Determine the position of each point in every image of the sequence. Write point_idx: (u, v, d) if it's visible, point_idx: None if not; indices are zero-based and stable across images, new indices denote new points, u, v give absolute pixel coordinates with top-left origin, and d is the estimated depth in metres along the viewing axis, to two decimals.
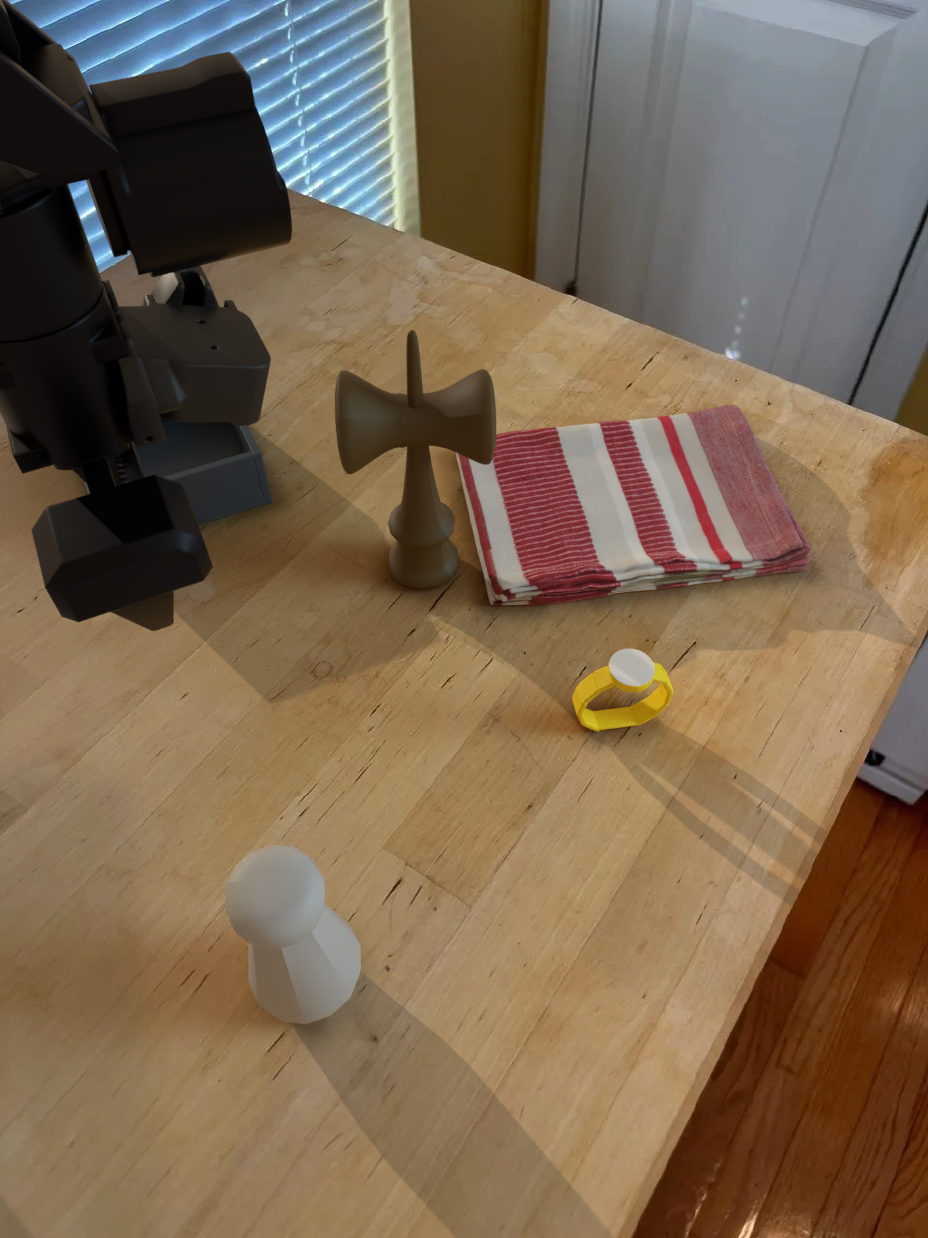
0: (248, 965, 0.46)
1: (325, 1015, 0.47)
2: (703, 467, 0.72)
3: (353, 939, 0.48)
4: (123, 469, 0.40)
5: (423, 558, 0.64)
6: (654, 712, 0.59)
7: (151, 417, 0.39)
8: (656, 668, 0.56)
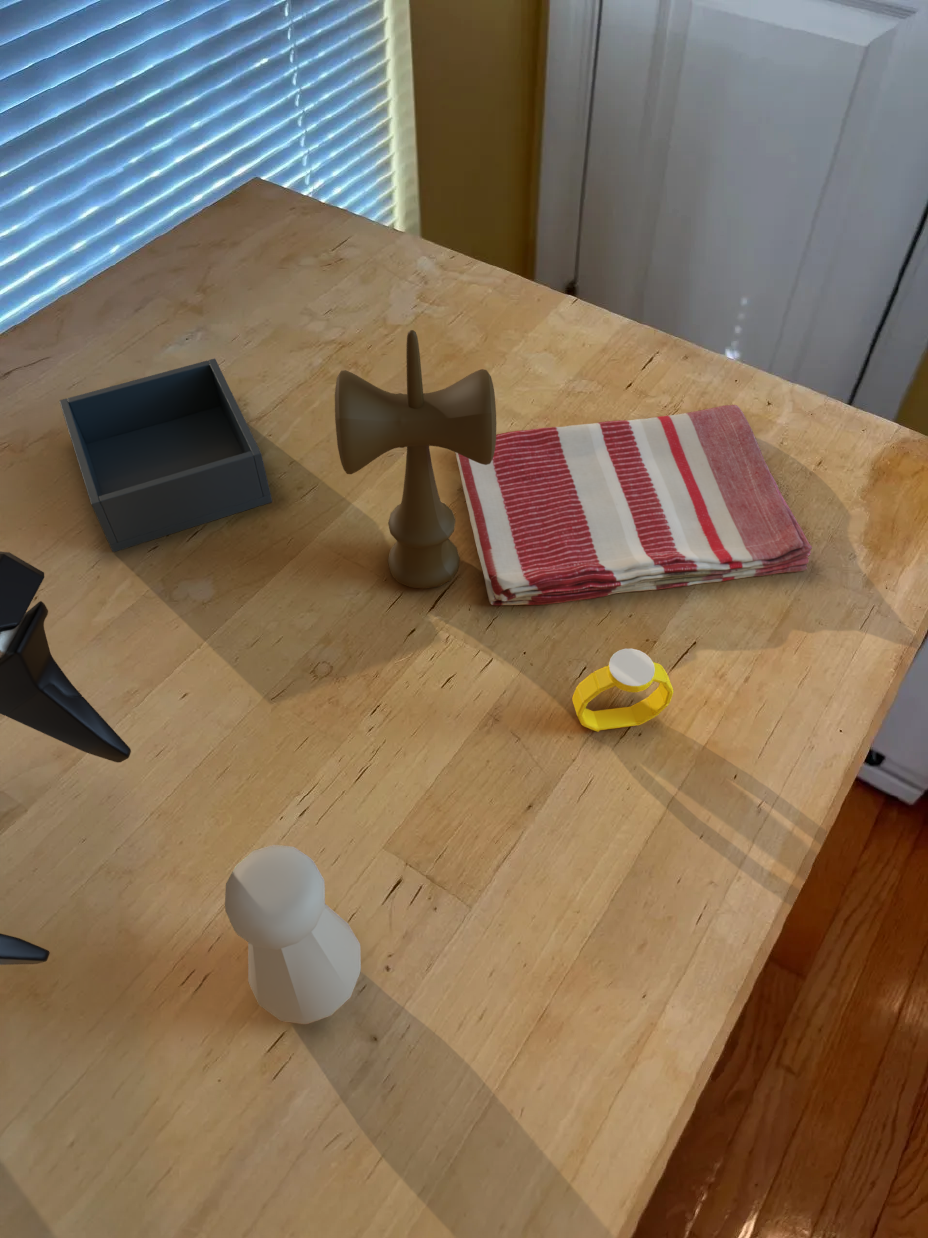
0: (248, 965, 0.46)
1: (325, 1015, 0.47)
2: (703, 467, 0.72)
3: (353, 939, 0.48)
4: None
5: (423, 558, 0.64)
6: (654, 712, 0.59)
7: None
8: (656, 668, 0.56)
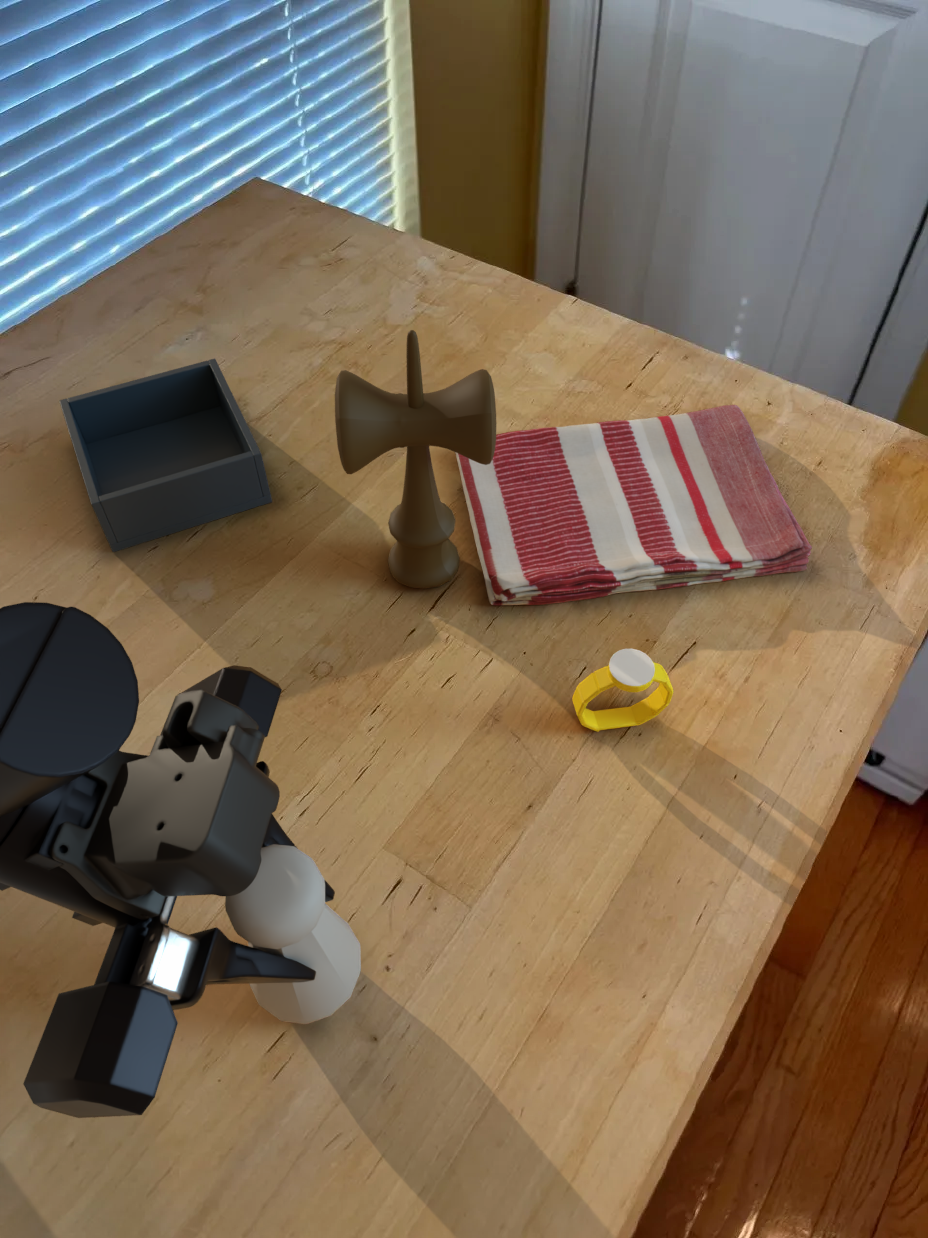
0: None
1: (325, 1015, 0.47)
2: (703, 467, 0.72)
3: (353, 939, 0.48)
4: None
5: (423, 558, 0.64)
6: (654, 712, 0.59)
7: (124, 904, 0.35)
8: (656, 668, 0.56)
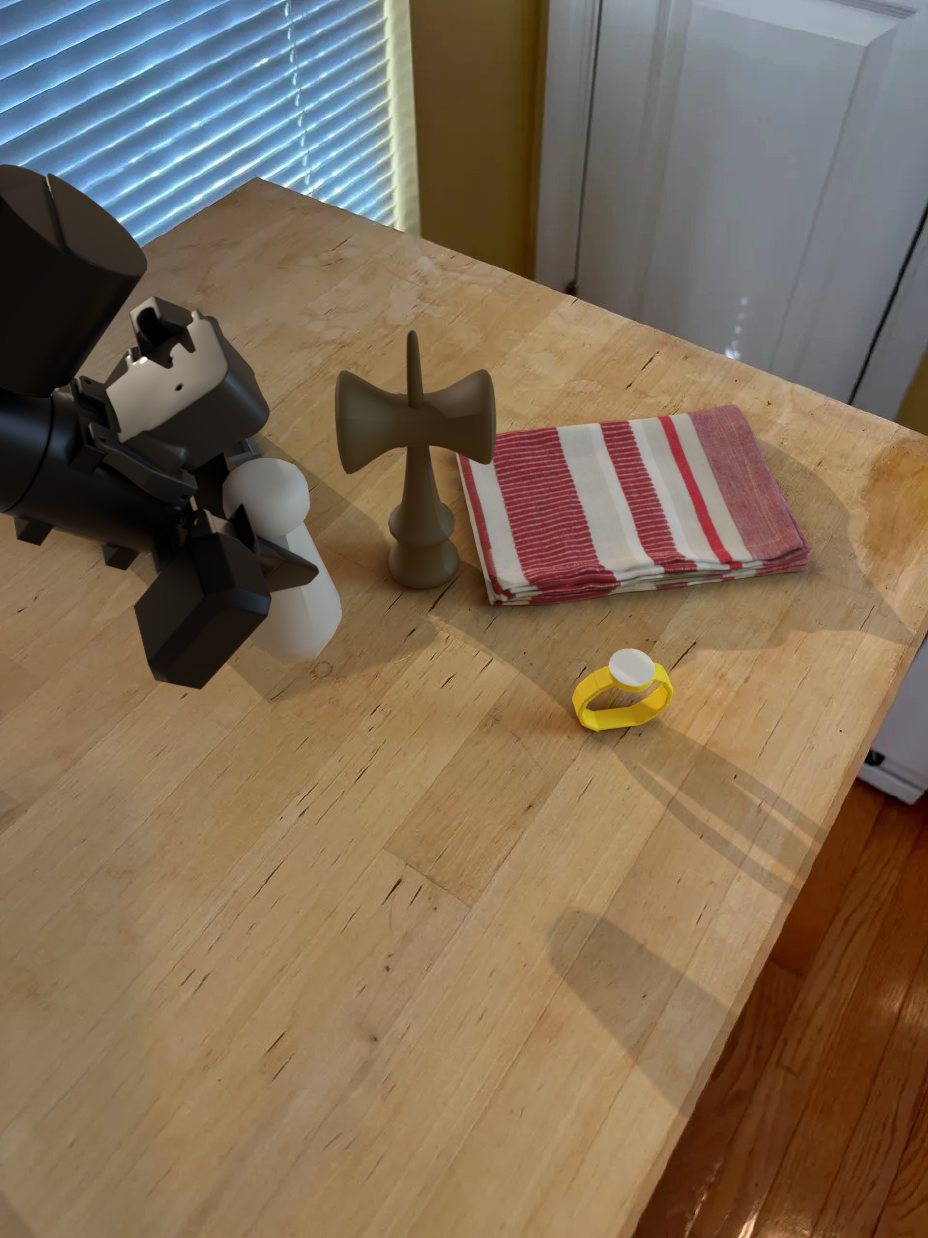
0: None
1: (330, 632, 0.53)
2: (703, 467, 0.72)
3: None
4: None
5: (423, 558, 0.64)
6: (654, 712, 0.59)
7: (168, 483, 0.40)
8: (656, 668, 0.56)
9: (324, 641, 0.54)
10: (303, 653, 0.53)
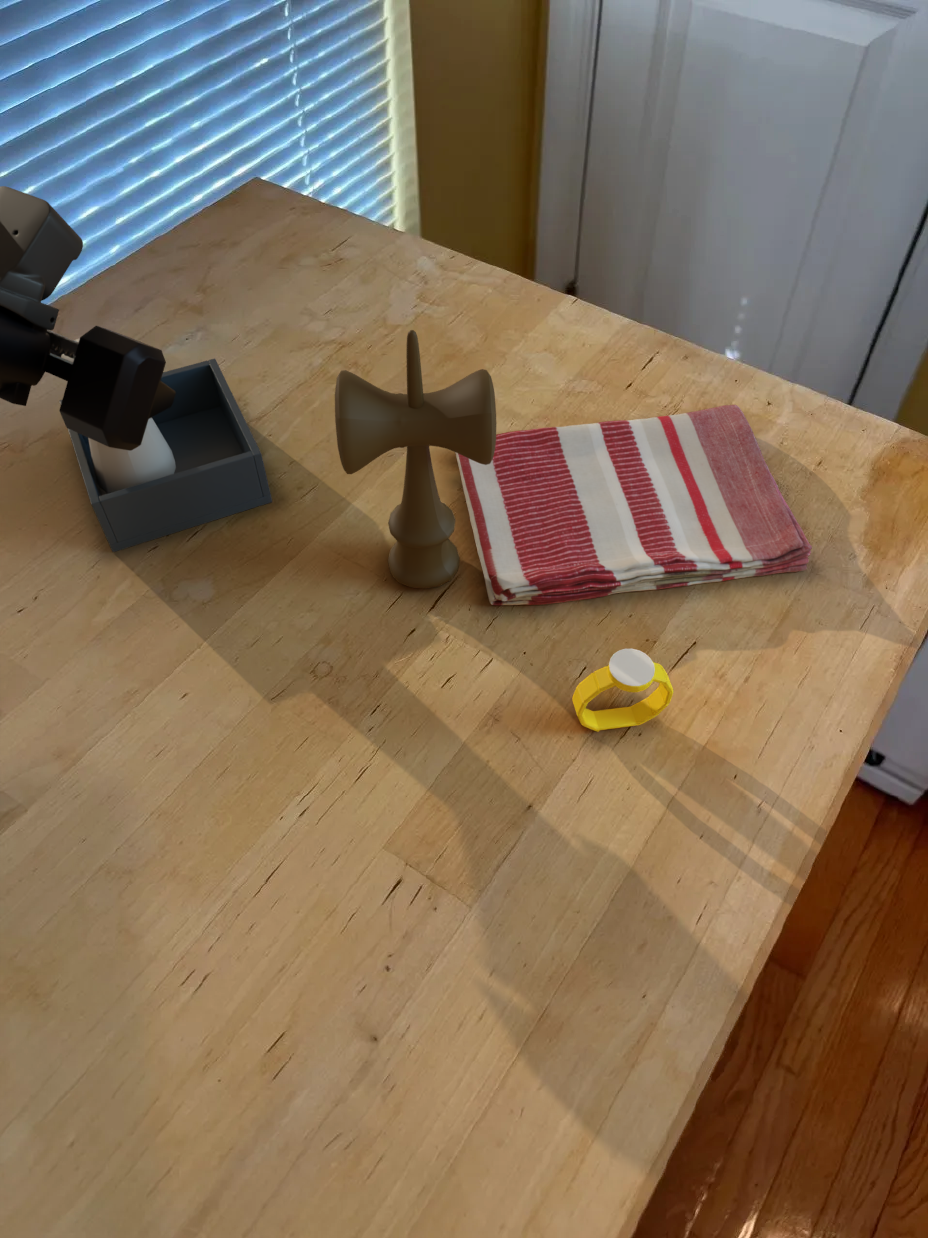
0: (116, 467, 0.66)
1: (174, 464, 0.70)
2: (703, 467, 0.72)
3: None
4: (61, 349, 0.55)
5: (423, 558, 0.64)
6: (654, 712, 0.59)
7: (40, 308, 0.53)
8: (656, 668, 0.56)
9: (173, 472, 0.70)
10: None
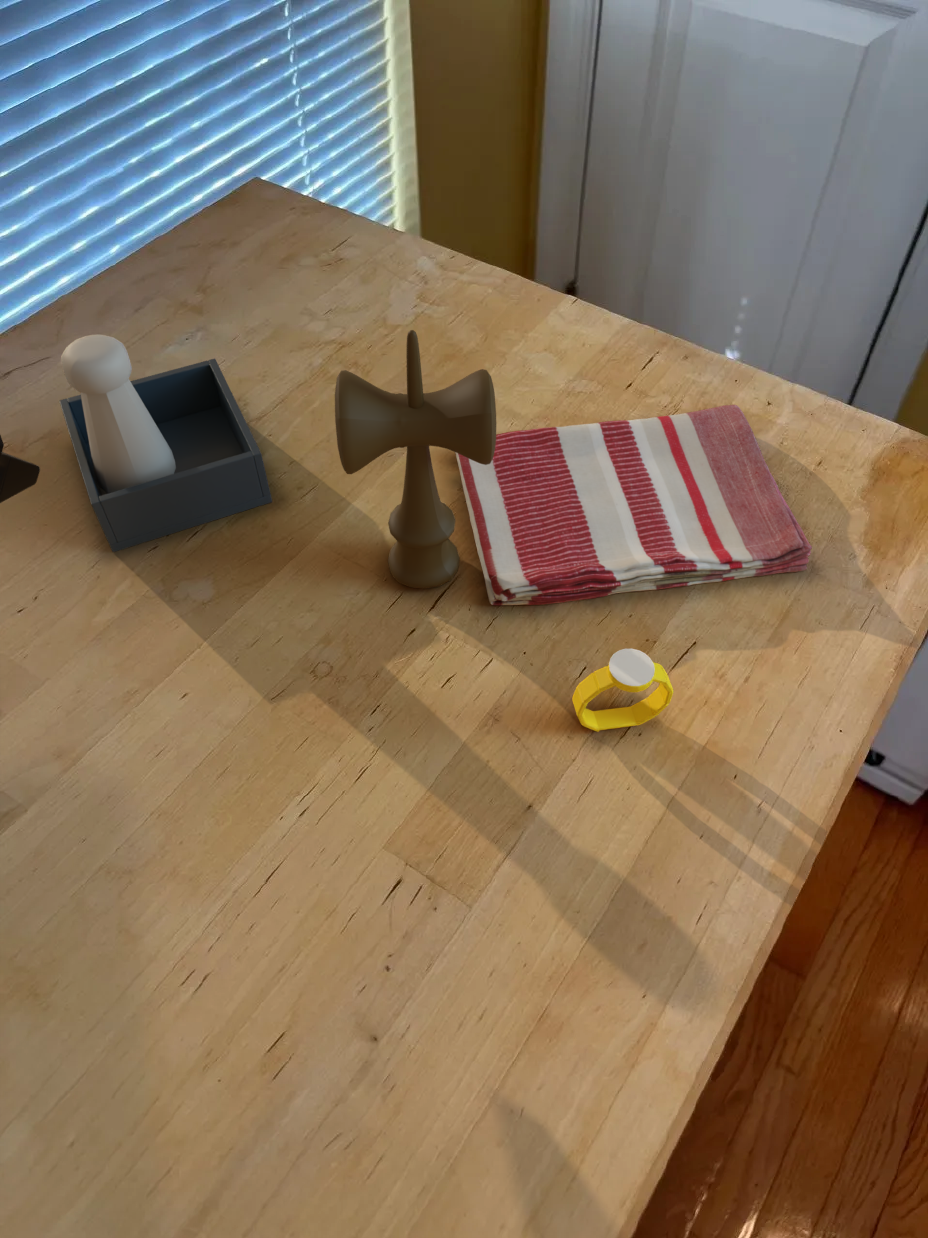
0: (116, 467, 0.66)
1: (174, 464, 0.70)
2: (703, 467, 0.72)
3: None
4: None
5: (423, 558, 0.64)
6: (654, 712, 0.59)
7: None
8: (656, 668, 0.56)
9: (173, 472, 0.70)
10: None
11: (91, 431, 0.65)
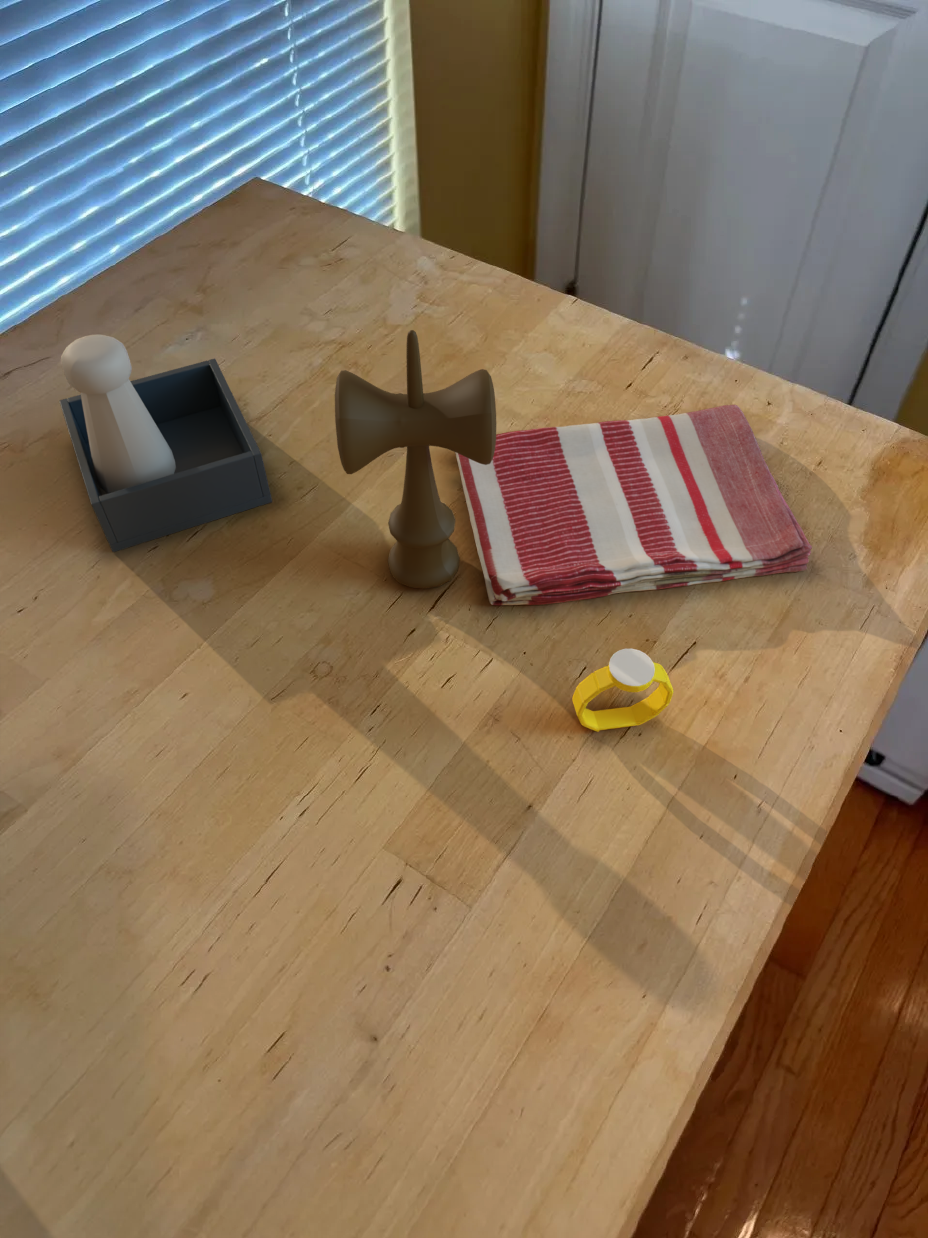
0: (116, 467, 0.66)
1: (174, 464, 0.70)
2: (703, 467, 0.72)
3: None
4: None
5: (423, 558, 0.64)
6: (654, 712, 0.59)
7: None
8: (656, 668, 0.56)
9: (173, 472, 0.70)
10: None
11: (91, 431, 0.65)
